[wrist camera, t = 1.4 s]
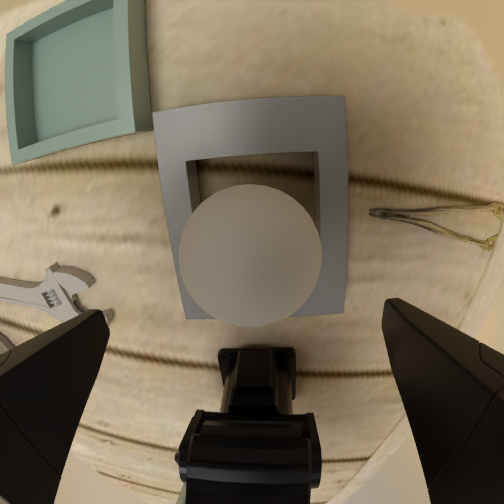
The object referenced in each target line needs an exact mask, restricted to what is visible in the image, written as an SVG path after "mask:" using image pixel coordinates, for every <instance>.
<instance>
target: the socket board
mask: <svg viewBox="0 0 504 504" xmlns="http://www.w3.org/2000/svg"><path fill="white" fill-rule="evenodd" d="M152 116H153V125H154V134H155V143H156V151H157V159H158V167H159V174H160V181H161V188H162V195H163V201H164V207H165V214H166V220H167V226H168V231H169V237H170V243H171V248H172V254H173V259H174V264H175V269H176V274H177V279H178V284H179V289H180V294H181V298H182V303H183V307H184V312H185V316H186V319H215V318H214V317H212V316H211V315H209V314H208V313H207V312H205V311H204V310H203V309H202V308H201V307H200V306H199V305H198V304H197V303H196V302H195V301H194V300H193V298H192V297H191V295H190V294H189V293H188V291H187V289H186V287H185V285H184V282H183V280H182V276H181V271H180V267H179V245H180V240H181V236H182V231H183V229H184V227H185V225H186V223H187V220H188V219H189V217H190V216H191V215H192V213H193V212H194V211H195V209H196V208H197V207H198V206H199V205H200V204H201V200H200V192H199V184H198V176H197V167H196V160H199V159H208V158H218V157H229V156H240V155H253V154H268V153H285V152H309V151H313V164H314V189H315V226H316V229H317V231H318V233H319V237H320V242H321V246H322V263H321V269H320V274H319V278H318V280H317V283H316V285H315V287H314V289H313V291H312V293H311V295H310V296H309V297H308V299H307V300H306V301H305V303H304V304H303V305H302V306H301V307H300V308H299V309H298V310H297V311H296V312H294V313H293V314H291V315H290V316H288V317H294V316H312V315H327V314H340V313H344V301H345V286H346V268H347V244H348V150H347V126H346V109H345V96H291V97H271V98H256V99H244V100H234V101H225V102H216V103H208V104H201V105H194V106H187V107H181V108H175V109H169V110H163V111H158V112H152Z"/></svg>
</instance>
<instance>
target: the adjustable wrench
mask: <svg viewBox="0 0 504 504" xmlns="http://www.w3.org/2000/svg"><path fill="white" fill-rule="evenodd" d="M45 271H46V273H47V276H46V278H45V280H44V281H43V282H40V283H32V282H26V281H20V280H13V279H7V278H1V277H0V301H3V302H8V303H13V304H18V305H23V306H29V307H34V308H37V309H40V310H42V311H44V312H46V313H48V314H50V315H51V316H53V317H55V318H57V319H58V320H60V321H61V322H63V323H64V322H66V321H68V320H70V319H72V318H74V317H76V316H78V315H80V314H82V313H84V312H86V311H88V309H86V308H85V307H84V306H82V305H81V303H80V302H79V300H78V298H77V297H76V295H75V294H76V293H78V292H81V291H83V290H86V289H88V288H90V287H91V286H92V285H93V284H94V283H95V282H96V281H95V279H94V278H93V276H91V275H90V274H88V273H86V272H84V271H83V270H80V269H78V268H74V267H65V266H64V267H59V266H58V264H57V263H55V264H54V265H53V266H51V267H49V268H48V269H46V270H45ZM103 314H104V316H105V319H106V322H107V325H108V324H109V323H110V321H111V320H112V317H113V310H112V309H109V310H106V311H103Z"/></svg>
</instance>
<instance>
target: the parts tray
mask: <svg viewBox="0 0 504 504" xmlns="http://www.w3.org/2000/svg"><path fill="white" fill-rule="evenodd" d="M5 98H6V116H7V128H8V138H9V147H10V154H11V161H12V166H13V165H16V164H20V163H23V162H27V161H30V160H34V159H37V158H41V157H44V156H47V155H50V154H54V153H57V152H61V151H64V150H68V149H71V148H75V147H79V146H83V145H87V144H91V143H95V142H99V141H103V140H107V139H112V138H116V137H121V136H126V135H131V134H136V133H141V132H146V131H151V130H153V123H152V113H151V103H150V91H149V79H148V64H147V47H146V23H145V0H66V1H64V2H62V3H60V4H58V5H56V6H54V7H52V8H50V9H49V10H47V11H45V12H43V13H41V14H39V15H38V16H36V17H34V18H32V19H31V20H29V21H27V22H25V23H24V24H22V25H21V26H19V27H17V28H16V29H14V30H13V31H11V32H9V33H8V34H7V36H6V53H5Z"/></svg>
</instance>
